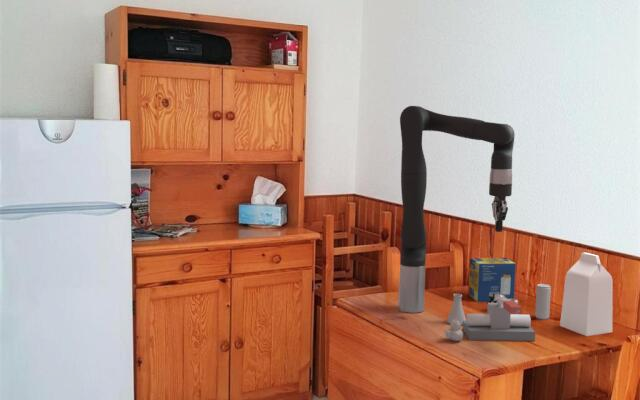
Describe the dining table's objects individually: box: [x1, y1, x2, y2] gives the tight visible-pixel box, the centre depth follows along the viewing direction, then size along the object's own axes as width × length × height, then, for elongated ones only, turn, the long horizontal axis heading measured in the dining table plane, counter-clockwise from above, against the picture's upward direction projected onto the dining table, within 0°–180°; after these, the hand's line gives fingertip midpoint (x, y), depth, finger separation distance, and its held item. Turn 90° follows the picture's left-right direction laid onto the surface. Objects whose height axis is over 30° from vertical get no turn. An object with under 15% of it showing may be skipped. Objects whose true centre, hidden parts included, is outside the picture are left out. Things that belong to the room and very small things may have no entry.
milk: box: [559, 252, 614, 337], centre depth 221 cm, size 12×12×26 cm
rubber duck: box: [444, 317, 464, 342], centre depth 209 cm, size 5×7×8 cm
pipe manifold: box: [462, 301, 536, 342], centre depth 215 cm, size 21×11×11 cm, turn 89°
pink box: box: [495, 294, 523, 314], centre depth 207 cm, size 16×3×2 cm, turn 4°
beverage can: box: [534, 283, 552, 321], centre depth 234 cm, size 5×5×12 cm
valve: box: [486, 293, 519, 305], centre depth 238 cm, size 7×7×12 cm
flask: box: [446, 293, 467, 326], centre depth 228 cm, size 7×7×10 cm
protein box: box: [468, 257, 517, 303], centre depth 260 cm, size 10×15×16 cm
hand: (498, 231), depth 227 cm, fingers closed
